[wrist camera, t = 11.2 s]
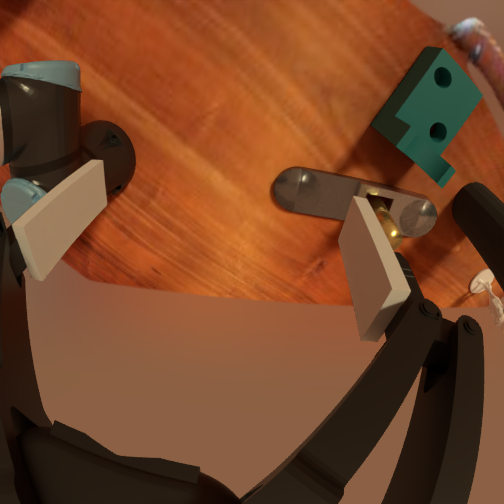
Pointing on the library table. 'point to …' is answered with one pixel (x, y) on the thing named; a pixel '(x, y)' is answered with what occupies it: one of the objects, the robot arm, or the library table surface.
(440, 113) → the teal l-shaped bracket
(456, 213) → the vase
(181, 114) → the library table surface
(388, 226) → the pin
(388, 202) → the slotted link plate
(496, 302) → the figurine
